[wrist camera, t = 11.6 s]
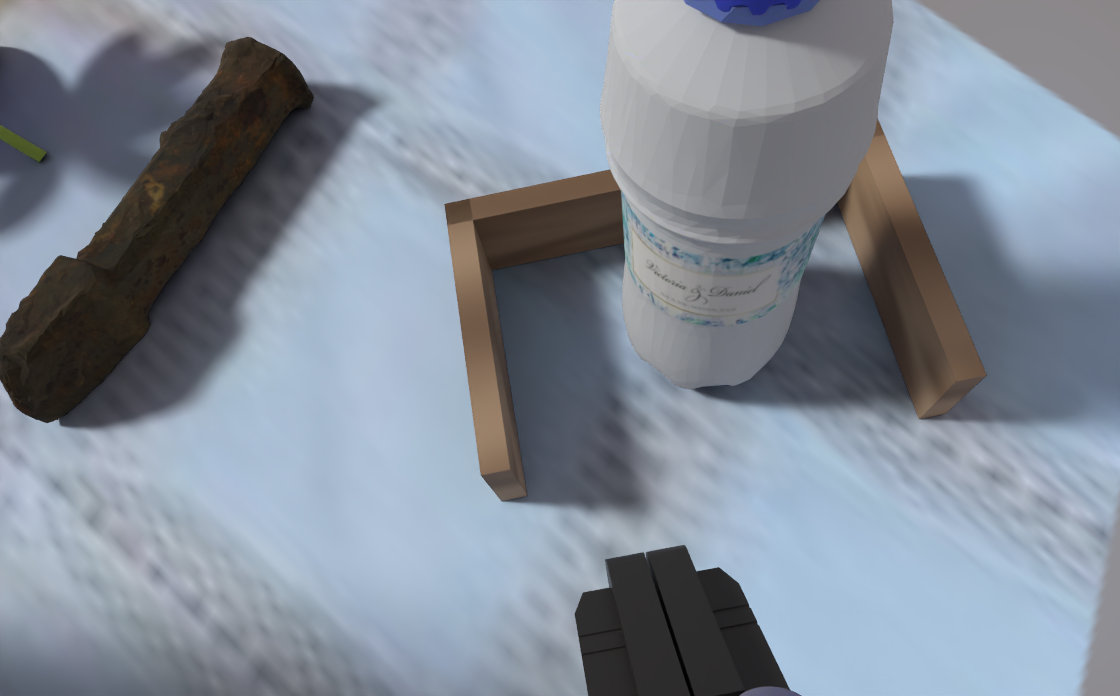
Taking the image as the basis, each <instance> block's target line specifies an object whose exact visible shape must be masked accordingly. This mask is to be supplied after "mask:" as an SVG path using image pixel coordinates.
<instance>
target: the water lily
mask: <svg viewBox="0 0 1120 696" xmlns="http://www.w3.org/2000/svg"><path fill="white" fill-rule="evenodd" d="M0 139H1V140H3V141H4V142H6V143H7V144H9V145H11V146H12V147H14V148H16V149H17V150H19V151H21V152H22V153H24V154H26V155H27V156H29V157H31V158H32V159H34V160H36V161H38V162H40V160H41V159H42V158H43V156H44V155H45V154H46V153H47V152H46V151H44V150H43V149H41V148H39V147H37V146H36V145H34V144H32V143H30V142H29V141H27V140H25V139H24V138H22V137H20V136H19V135H17V134H15V133H13V132H12V131H10V130H8V129H7V128H5V127H3V126H2V125H0Z"/></svg>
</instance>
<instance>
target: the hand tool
mask: <svg viewBox="0 0 1120 696" xmlns="http://www.w3.org/2000/svg"><path fill="white" fill-rule="evenodd" d="M313 99H314V96H313V94H312V92H311V91H310V90H309V88H308V86H307V84H306V82H305V80H304V78H303V76H302V74H301V73H300V71H299V70H298V68H297V67H296V66H295V65H294V64H293V62H292V61H291V60H289V59H288V58H287V57H286V56H285V55H284V54H283V53H281V52H279V51H277V50H275V49H273V48H271V47H269V46H267V45H265V44H262V43H260V42H258V41H256V40H255V39H253V38H252V37H251V38H250V37H246V38H241V39H238V40H235V41H231V42H228V43H226V45H225V50H224V52H223V54H222V58H221V64H220V66H219V69H218V72H217V74H216V75H215V77H214V78H213V79H212V81H211V82H210V84H209V85H208V86H207V87H206V88H205V89H204V90H203V91H202V94H201V95H200V96H199V97H198V99H197V100H196V102H195V103H194V104H193V106H192V107H191V108H190V109H189V110H188V111H186V114H185V116H183V117H181V118H180V119H178V120H177V121H176V122H174V123H172V124H171V126H170V127H169V129H168V130H167V131H165V132H162V133H161V136H160V149H159V150H158V151H157V153H156V154H155V155H154V156H153V158H152V159H151V161H150V163H149V164H148V165H147V167H146V168H145V169H144V171H143V172H142V174H141V175H140V176H139V178H138V179H137V180H136V182H135V183H134V184H133V186H132V187H131V188H130V189H129V191H128V192H127V193H126V195H125V196H124V197H123V199H122V201H121V202H120V203H119V205H118V206H117V207H116V208H115V210H114V211H113V212H112V214H111V215H110V217H109V218H108V219H107V221H106V222H105V223H103V225H102V227H101V229H100V230H99V231H97V232H96V233H95V235H94V237H93V239H92V240H91V242H90V244H89V245H87V246H86V247H85V248H84V249H82V250H81V251H79V252H78V255H77V259H74V258H70V257H66V256H61V255H60V256H58V257H57V258H56V259H55V260H54V262H53V263H52V264H51V266H50V267H49V268H48V269H47V270H46V271H45V272H44V273H43V275H42V276H41V278H40V280H39V282H38V284H37V285H36V286H35V288H34V289H33V290H32V291H31V293H30V294H29V296H27V297H25V298H24V299H22V301H21V302H20V304H19V308H18V310H17V311H16V312H14V313H12V315H11V316H10V318H9V320H8V322H7V323H6V330H5V332H4V334H3V335H2V336H1V337H0V380H1V382H2V383H3V386H4V388H5V390H6V391H7V392H8V394H9V397H10V398H11V400H12V402H13V404H14V406H15V407H16V408H17V409H18V410H19V411H21V412H22V413H24V414H26V415H28V416H30V417H32V418H34V419H36V420H40V421H42V422H46V423H49V422H53V421H54V420H56V419H57V420H58V419H59V418H60V417H61V416H63V415H65V414H67V413H68V412H69V411H70V410H71V409H72V408H74V407H75V406H76V405H77V404H78V403H79V402H80V401H81V400H82V399H84V398H85V397H86V396H87V395H88V394H89V393H90V392H91V391H92V390H93V389H94V388H96V387H97V386H98V385H99V384H101V383H102V382H103V380H104V379H105V377H106V376H107V375H108V374H109V373H110V372H111V371H112V370H113V368H114V367H115V366H116V365H117V363H118V362H119V361H120V360H121V359H122V358H123V357H124V356H125V355H126V354H127V353H128V352H129V351H130V350H131V348H132V347H133V346H134V345H135V344H136V343H137V342H138V341H139V340H140V339H141V338H142V337H143V336H144V335H145V334H146V332H147V331H148V329H149V327H150V325H151V323H150V320H149V317H148V312H149V310H150V308H151V306H152V304H153V302H154V300H155V299H156V297H157V296H158V294H159V293H160V292H161V290H162V289H163V287H164V286H165V284H166V283H167V281H168V280H169V278H170V277H171V276H172V275H173V274H174V273H175V272H176V271H177V269H178V268H179V267H180V266H181V264H182V263H183V262H184V260H185V259H186V258H187V256H188V255H189V254H190V252H191V251H192V250H193V249H194V248H195V246H196V245H197V244H198V243H199V242H201V241H202V239H203V237H204V235H205V233H206V231H207V230H208V228H209V226H210V224H211V222H212V221H213V219H214V218H215V216H216V215H217V213H218V212H219V210H220V209H221V208H222V206H223V205H224V203H225V202H226V201H227V200H228V198H229V197H230V195H231V194H232V192H233V191H234V190H235V189H236V188H237V187H238V186H239V185H240V184H241V183H242V181H243V180H244V178H245V177H246V175H247V173H248V172H249V171H250V170H251V169H252V168H253V167H254V166H255V164H256V162H257V160H258V158H259V156H260V154H261V152H262V151H263V150H264V149H265V148H266V147H267V146H268V144H269V142H270V141H271V139H272V137H273V135H274V134H275V132H276V131H277V130H278V128H279V127H280V125H281V124H282V122H283V121H284V119H285V118H286V117H287V116H288V114H289V113H290V112H291V111H292V110H293V109H295V108H301V107H302V108H309V107H310V106H311V104H312V101H313Z"/></svg>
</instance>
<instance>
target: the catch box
mask: <svg viewBox="0 0 1120 696" xmlns="http://www.w3.org/2000/svg"><path fill="white" fill-rule="evenodd" d="M837 204H838V206H839V209H840V212H841V214H842V217H843V219H844V222H845V225H846V227H847V230H848V233H849V235H850V238H851V241H852V243H853V246H854V249H855V251H856V254H857V256H858V259H859V262H860V264H861V267H862V270H863V272H864V275H865V278H866V280H867V283H868V286H869V288H870V291H871V293H872V296H873V299H874V301H875V304H876V307H877V309H878V312H879V315H880V317H881V320H882V323H883V325H884V328H885V330H886V333H887V336H888V338H889V341H890V344H891V346H892V349H893V352H894V354H895V357H896V360H897V362H898V365H899V368H900V370H901V373H902V375H903V378H904V381H905V383H906V386H907V389H908V391H909V394H910V397H911V399H912V402H913V405H914V407H915V410H916V412H917V415H918V418H919V419H922V418H927V417H932V416H937V415H942V414H946V413H947V412H948V411H949V410H950V409H951V408H952V407H953V406H954V405H955V404H957V403H958V402H959V401H960V400H961V399H962V398H963V397H964V396H965V395H966V394H967V393H968V392H969V391H971V390H972V389H973V388H974V387H975V386H976V385H977V384H978V383H979V382H980V381H981V380H982V379H983V378H984V377H986V376H987V374H986V372H985V370H984V367H983V365H982V363H981V360H980V358H979V356H978V353H977V351H976V348H975V346H974V344H973V341H972V339H971V337H970V334H969V332H968V330H967V327H966V325H965V323H964V320H963V318H962V316H961V313H960V311H959V309H958V306H957V304H956V302H955V299H954V297H953V294H952V292H951V290H950V287H949V285H948V283H947V280H946V278H945V276H944V273H943V271H942V269H941V266H940V264H939V262H938V259H937V257H936V255H935V252H934V250H933V247H932V245H931V243H930V240H929V238H928V236H927V233H926V231H925V229H924V226H923V224H922V222H921V219H920V217H919V215H918V212H917V210H916V208H915V205H914V203H913V200H912V198H911V196H910V193H909V191H908V189H907V186H906V184H905V182H904V179H903V177H902V175H901V172H900V170H899V168H898V165H897V163H896V161H895V158H894V156H893V154H892V151H891V149H890V146H889V144H888V142H887V139H886V137H885V135H884V132H883V130H882V128H881V125H880V123H879V121H878V118H877V123H876V129H875V134H874V136H873V139H872V141H871V144H870V147H869V149H868V151H867V153H866V155H865V156H864V158H863V159H862V161H861V162H860V164H859V166H858V170H857V172H856V174H855V176H854V178H853V180H852V182H851V184H850V185H849V187H848V189H847V190H846V192H845V194H844V195H843V196H842V197H841V198H840V200H839V201H838V202H837ZM445 211H446V219H447V226H448V234H449V241H450V249H451V256H452V263H453V271H454V278H455V286H456V293H457V301H458V308H459V316H460V323H461V331H462V338H463V345H464V353H465V360H466V368H467V375H468V383H469V390H470V398H471V405H472V413H473V420H474V427H475V435H476V442H477V450H478V457H479V465H480V472H481V476H482V477H483V479H484V480H485V481H486V482H487V484H488V485H489V486H490V487H491V489H492V490H493V491H494V492H495V494H496V495H497V496H498V497H499V498H500V500H501V501H505V500H510V499H515V498H520V497H525V496H527V491H526V484H525V478H524V472H523V465H522V459H521V453H520V446H519V440H518V433H517V427H516V421H515V414H514V408H513V402H512V395H511V389H510V383H509V376H508V370H507V363H506V357H505V351H504V344H503V338H502V332H501V325H500V319H499V312H498V306H497V300H496V293H495V287H494V281H493V274H492V270H495V269H500V268H505V267H510V266H515V265H520V264H525V263H530V262H534V261H539V260H544V259H549V258H554V257H559V256H564V255H569V254H573V253H578V252H583V251H588V250H593V249H598V248H603V247H607V246H612V245H617V244H622V243H624V230H623V213H622V196H621V189H620V188H619V186H618V184H617V182H616V181H615V179H614V177H613V175H612V172H611V170H606V171H601V172H596V173H591V174H587V175H582V176H577V177H572V178H567V179H562V180H558V181H553V182H548V183H543V184H538V185H534V186H529V187H524V188H519V189H514V190H510V191H505V192H500V193H495V194H490V195H486V196H481V197H476V198H471V199H466V200H462V201H457V202H452V203H447V204H445Z"/></svg>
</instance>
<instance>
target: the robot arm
mask: <svg viewBox="0 0 1120 696" xmlns="http://www.w3.org/2000/svg"><path fill="white" fill-rule="evenodd" d="M605 562H606V570H607V576H608V583H609V588H605V589H600V590H595V591H589V592H584V593H583V594H582V596H581V599H580V602H579V604H578V607H577V610H576V612H575V618H576V624H577V630H578V636H579V642H580V648H581V654H582V660H583V666H584V672H585V678H586V684H587V690H588V696H801V695H799V694H797V693H796V692H793V691H791V690H790V689H789V687H788V685H787V683H786V681H785V679H784V677H783V674H782V672H781V670H780V668H779V666H778V664H777V662H776V660H775V658H774V656H773V654H772V652H771V649H770V647H769V645H768V643H767V641H766V639H765V637H764V635H763V633H762V631H761V629H760V627H759V625H758V624H757V620H756V618H755V616H754V614H753V612H752V610H751V608H749V604H748V602H747V599H746V597H745V595H744V593H743V591H742V589H741V587H740V585H739V583H738V582H736V581H735V580H734V579H733V578H732V577H730V576H729V575H728V574H727V573H725V572H724V571H723V570H722V569H720V568H719V567H718V568H713V569H707V570H702V571H697V572H696V570H695V567H694V565H693V562H692V560H691V558H690V555H689V553H688V550H687V548H686V546H685V545H681V546H676V547H670V548H665V549H660V550H654V551H649V552H646V558H645V555H644V553H637V554H632V555H627V556H621V557H616V558H611V559H605Z"/></svg>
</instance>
